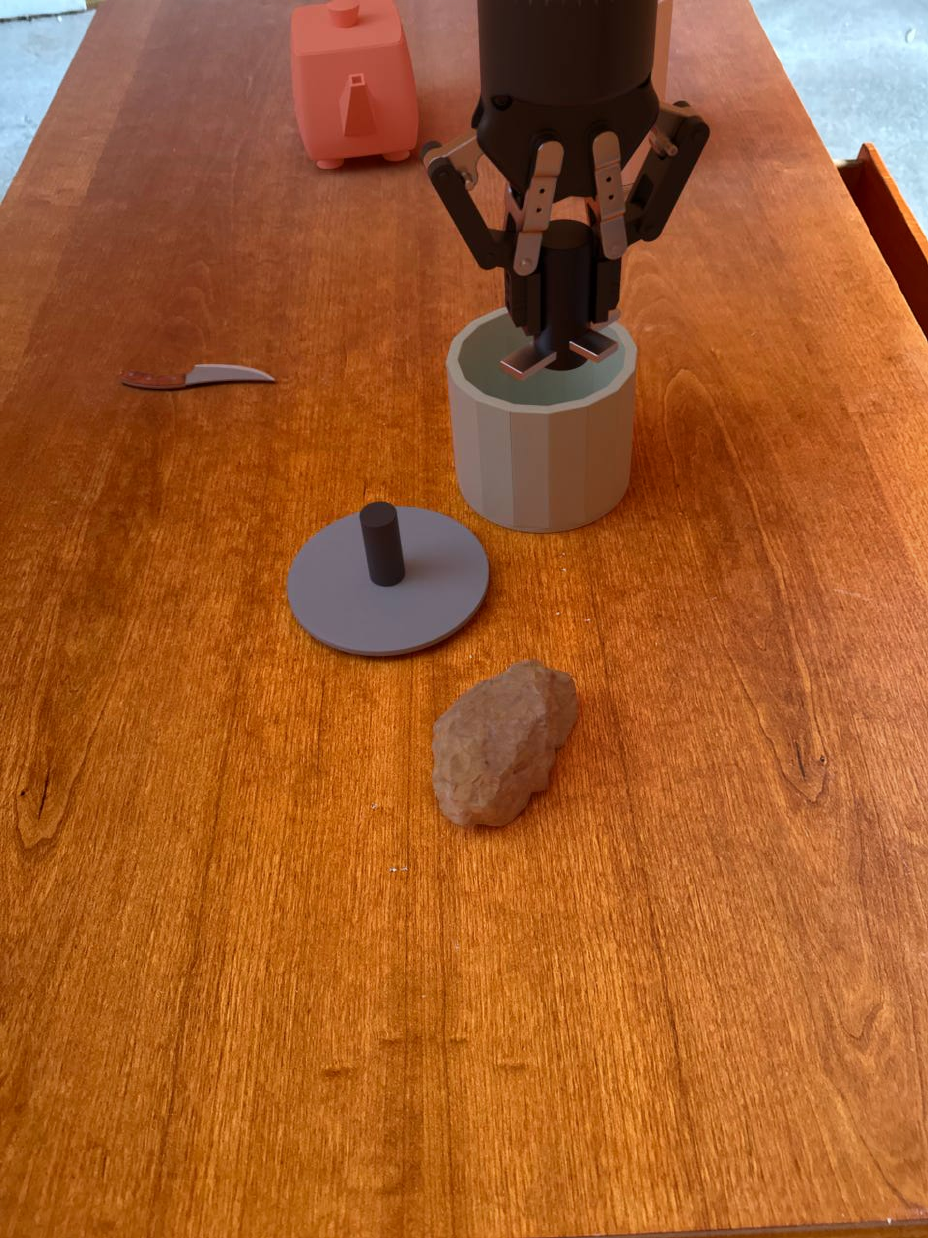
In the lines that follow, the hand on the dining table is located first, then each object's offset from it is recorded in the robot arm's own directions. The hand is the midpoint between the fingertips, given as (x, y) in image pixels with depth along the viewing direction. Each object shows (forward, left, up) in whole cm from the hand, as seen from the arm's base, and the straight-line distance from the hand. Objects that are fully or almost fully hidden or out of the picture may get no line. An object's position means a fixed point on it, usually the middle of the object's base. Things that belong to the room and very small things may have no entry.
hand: (562, 319), depth 59 cm
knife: (+22, -33, -22) cm, 45 cm away
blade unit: (0, 0, -2) cm, 2 cm away
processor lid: (+11, -5, -21) cm, 24 cm away
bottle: (-21, -58, -22) cm, 65 cm away
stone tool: (+7, +11, -22) cm, 25 cm away
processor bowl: (-2, -13, -22) cm, 25 cm away
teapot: (+2, -70, -22) cm, 73 cm away
